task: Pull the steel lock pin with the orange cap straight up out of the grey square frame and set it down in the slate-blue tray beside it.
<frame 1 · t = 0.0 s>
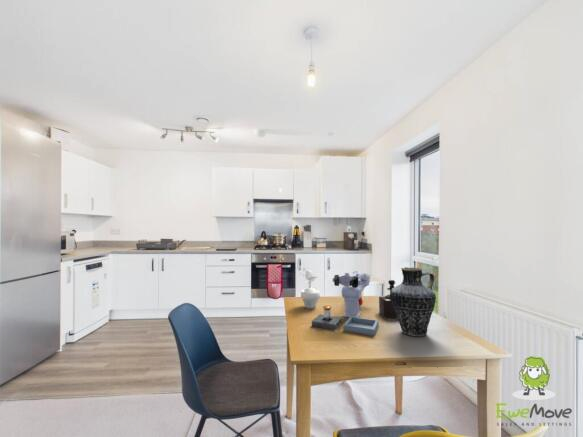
hand: (342, 282, 144), 22 cm above the table, tool horizontal, fingers open, 7 cm apart
tray: (361, 328, 140), on the table
jug: (413, 333, 136), on the table
grey square frame: (327, 324, 147), on the table
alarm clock: (353, 302, 188), on the table
lock pin: (327, 315, 147), in the grey square frame
potted plant: (310, 307, 176), on the table
pepper mill: (389, 314, 164), on the table
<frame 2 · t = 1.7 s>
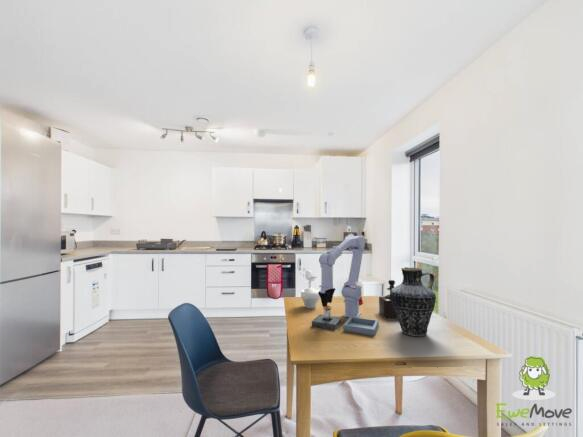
hand: (327, 304, 147), 10 cm above the table, tool pointing down, fingers open, 7 cm apart
nothing on the table moved.
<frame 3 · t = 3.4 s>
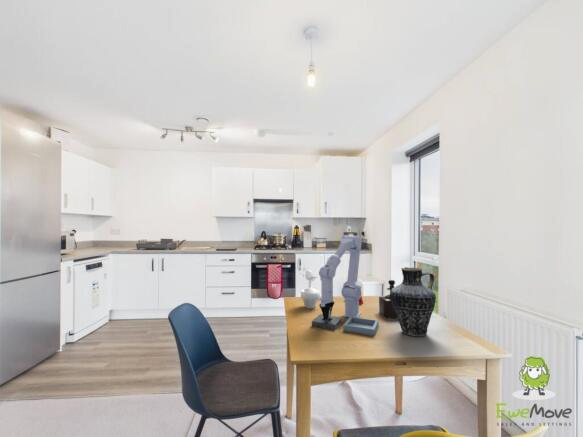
hand: (327, 317, 147), 3 cm above the table, tool pointing down, fingers closed on lock pin, 4 cm apart
lock pin: (327, 315, 147), in the grey square frame, touching gripper
everything else where it was.
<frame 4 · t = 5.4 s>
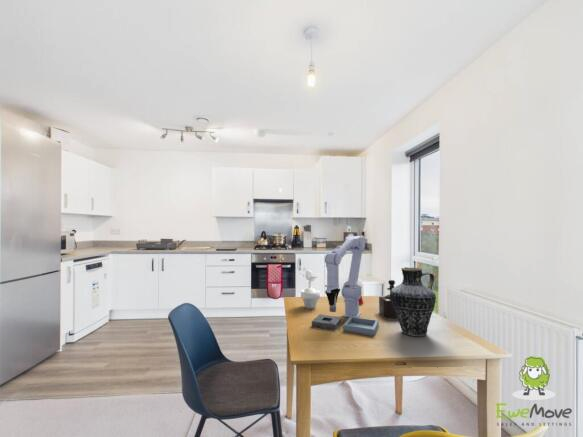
hand: (332, 304, 146), 10 cm above the table, tool pointing down, fingers closed on lock pin, 4 cm apart
lock pin: (332, 302, 146), point 11 cm above the table, touching gripper
everything else where it was.
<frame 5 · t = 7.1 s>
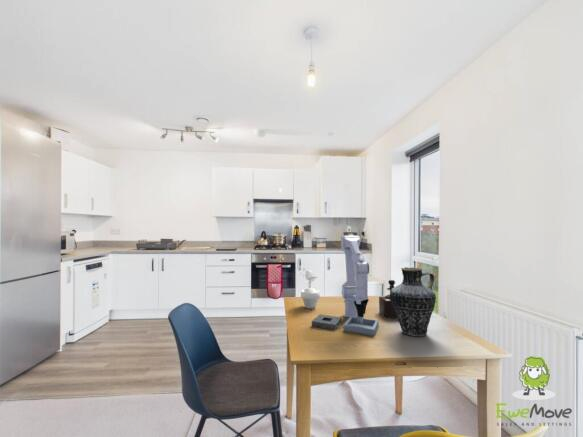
hand: (361, 315, 141), 6 cm above the table, tool pointing down, fingers closed on lock pin, 4 cm apart
lock pin: (360, 313, 141), point 7 cm above the table, tilted 5°, touching gripper
everything else where it was.
when the fingers open (6 cm above the table, at t = 7.7 s): lock pin drops 2 cm, resting on tray.
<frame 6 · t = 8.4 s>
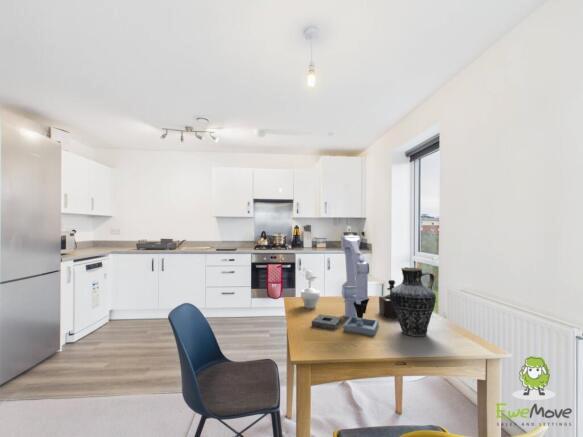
hand: (361, 315, 141), 6 cm above the table, tool pointing down, fingers open, 7 cm apart
lock pin: (359, 317, 141), in the tray, tilted 6°
everything else where it was.
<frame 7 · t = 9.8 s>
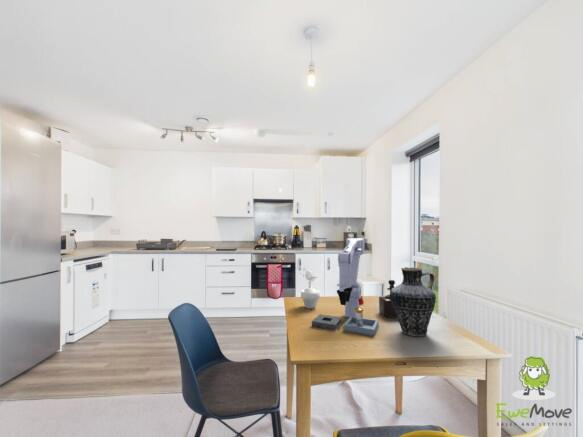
hand: (344, 303, 147), 10 cm above the table, tool pointing down, fingers open, 7 cm apart
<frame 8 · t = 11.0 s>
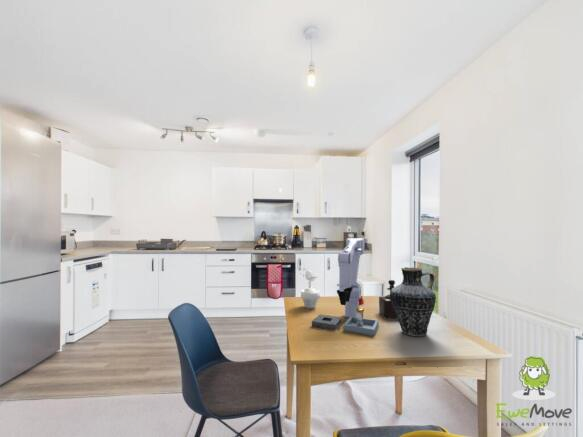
hand: (344, 303, 147), 10 cm above the table, tool pointing down, fingers open, 7 cm apart
nothing on the table moved.
at the end: lock pin inside the target area on the tray (0.9 cm from its centre), point 5.1 cm above the tray's base; the gripper is holding nothing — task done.
